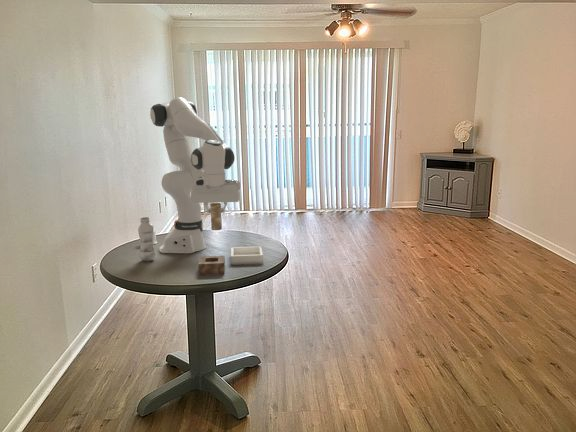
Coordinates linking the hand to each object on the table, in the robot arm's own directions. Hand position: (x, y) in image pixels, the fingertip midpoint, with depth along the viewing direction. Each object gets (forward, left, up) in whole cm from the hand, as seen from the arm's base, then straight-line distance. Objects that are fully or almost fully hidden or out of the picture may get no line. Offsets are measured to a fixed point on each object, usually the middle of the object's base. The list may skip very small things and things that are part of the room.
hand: (216, 212), depth 200 cm
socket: (-2, -3, -25) cm, 25 cm away
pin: (0, 0, -7) cm, 7 cm away
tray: (+13, +11, -25) cm, 30 cm away
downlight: (-36, +45, -25) cm, 63 cm away
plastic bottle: (-32, +15, -25) cm, 44 cm away
